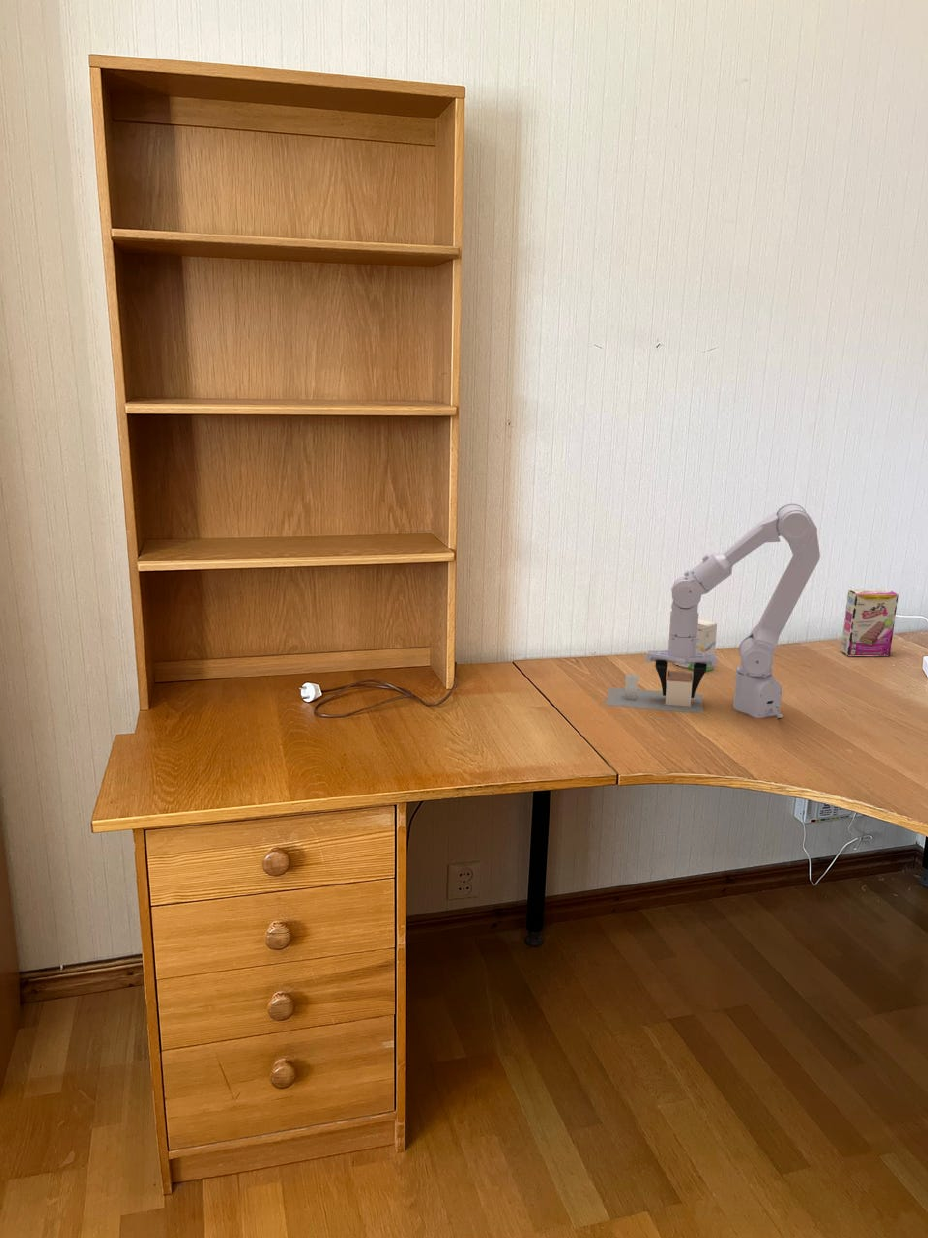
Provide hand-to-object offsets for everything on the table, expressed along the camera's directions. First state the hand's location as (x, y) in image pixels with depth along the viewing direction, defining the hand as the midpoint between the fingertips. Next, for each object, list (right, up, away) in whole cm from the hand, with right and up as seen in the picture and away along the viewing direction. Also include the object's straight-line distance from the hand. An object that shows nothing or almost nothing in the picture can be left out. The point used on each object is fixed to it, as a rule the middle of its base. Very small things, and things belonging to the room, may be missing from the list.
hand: (678, 695), depth 206 cm
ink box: (+10, +4, +27) cm, 29 cm away
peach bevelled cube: (0, -1, 0) cm, 1 cm away
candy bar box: (+56, +7, +39) cm, 68 cm away
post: (-10, -2, +3) cm, 10 cm away
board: (-5, -2, +2) cm, 6 cm away
